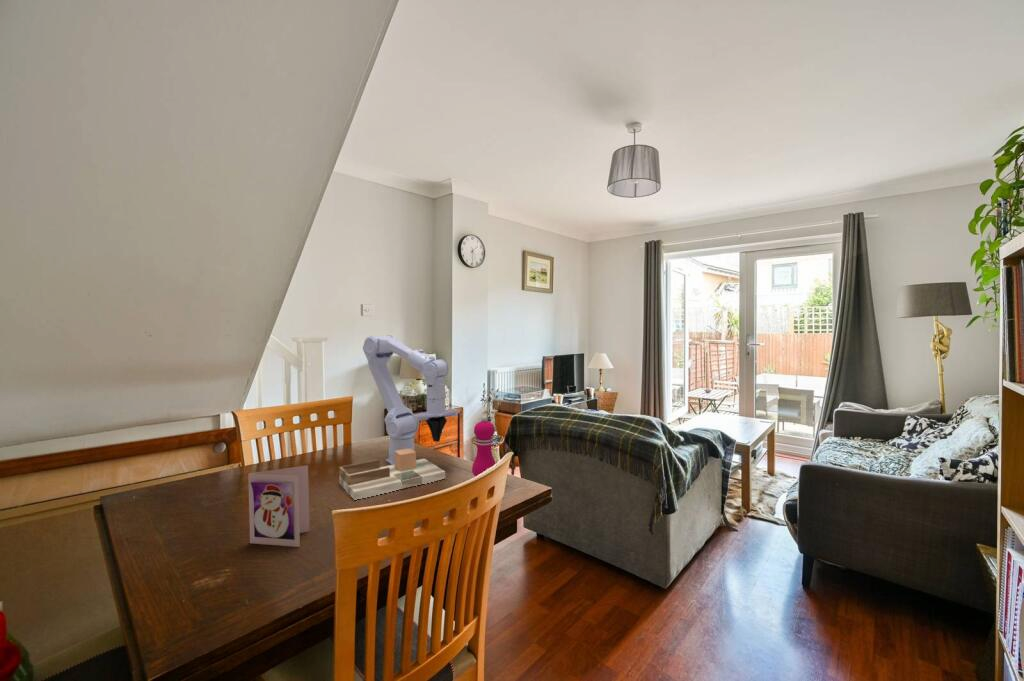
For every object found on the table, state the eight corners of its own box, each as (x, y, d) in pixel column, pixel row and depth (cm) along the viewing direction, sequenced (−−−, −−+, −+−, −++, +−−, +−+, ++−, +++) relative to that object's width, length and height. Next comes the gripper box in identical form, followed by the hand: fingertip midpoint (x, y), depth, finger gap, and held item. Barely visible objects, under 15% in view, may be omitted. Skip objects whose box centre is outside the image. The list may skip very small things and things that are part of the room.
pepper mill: (498, 480, 128) (498, 413, 127) (495, 489, 121) (495, 418, 120) (474, 479, 128) (474, 413, 128) (469, 488, 121) (469, 418, 120)
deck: (339, 483, 125) (339, 475, 125) (424, 466, 140) (424, 458, 140) (354, 501, 113) (354, 491, 113) (445, 479, 128) (445, 471, 128)
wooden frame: (339, 475, 125) (339, 466, 125) (378, 467, 132) (378, 459, 132) (348, 485, 117) (348, 476, 117) (389, 476, 124) (389, 468, 124)
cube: (394, 467, 132) (394, 450, 132) (409, 463, 135) (409, 448, 135) (400, 471, 128) (400, 455, 128) (416, 468, 131) (416, 452, 131)
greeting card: (247, 545, 91) (245, 475, 90) (271, 528, 98) (269, 463, 97) (297, 549, 89) (295, 477, 88) (317, 531, 96) (316, 465, 96)
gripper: (419, 402, 128) (419, 447, 129) (462, 397, 136) (462, 440, 137) (410, 399, 134) (410, 442, 134) (452, 394, 142) (452, 435, 143)
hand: (436, 440), depth 136 cm, fingers closed
